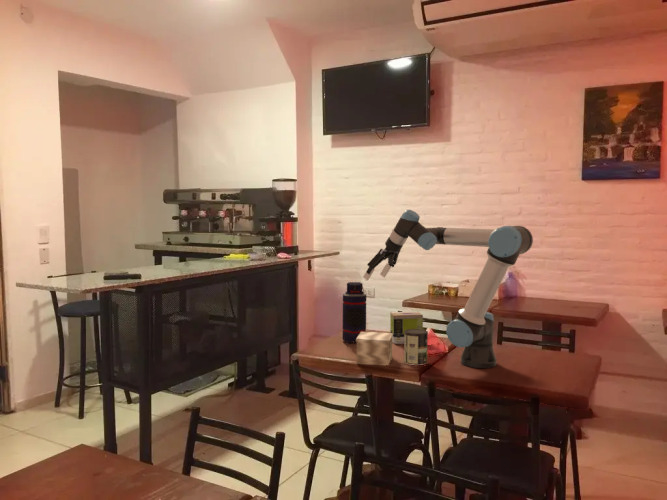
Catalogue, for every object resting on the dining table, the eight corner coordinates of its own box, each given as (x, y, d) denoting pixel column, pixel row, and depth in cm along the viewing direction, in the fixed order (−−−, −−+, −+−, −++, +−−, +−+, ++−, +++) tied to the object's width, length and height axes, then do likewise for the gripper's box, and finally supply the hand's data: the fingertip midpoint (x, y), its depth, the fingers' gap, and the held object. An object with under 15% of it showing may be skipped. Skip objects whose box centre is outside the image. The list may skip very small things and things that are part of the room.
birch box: (392, 357, 256) (393, 333, 256) (389, 365, 242) (389, 340, 241) (360, 355, 259) (361, 331, 258) (355, 363, 245) (355, 338, 244)
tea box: (418, 339, 292) (419, 311, 291) (423, 344, 282) (423, 314, 281) (389, 339, 291) (390, 311, 290) (393, 344, 281) (393, 314, 280)
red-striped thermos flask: (366, 344, 280) (367, 284, 278) (342, 344, 280) (343, 284, 278) (364, 338, 294) (365, 280, 292) (341, 337, 294) (342, 280, 292)
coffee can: (425, 360, 252) (426, 328, 251) (429, 366, 242) (429, 334, 241) (402, 359, 252) (402, 328, 251) (404, 366, 242) (405, 333, 241)
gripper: (405, 234, 266) (383, 269, 275) (374, 237, 247) (352, 274, 256) (416, 244, 263) (394, 279, 272) (386, 247, 244) (363, 285, 252)
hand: (374, 277), depth 264 cm, fingers open, 13 cm apart
